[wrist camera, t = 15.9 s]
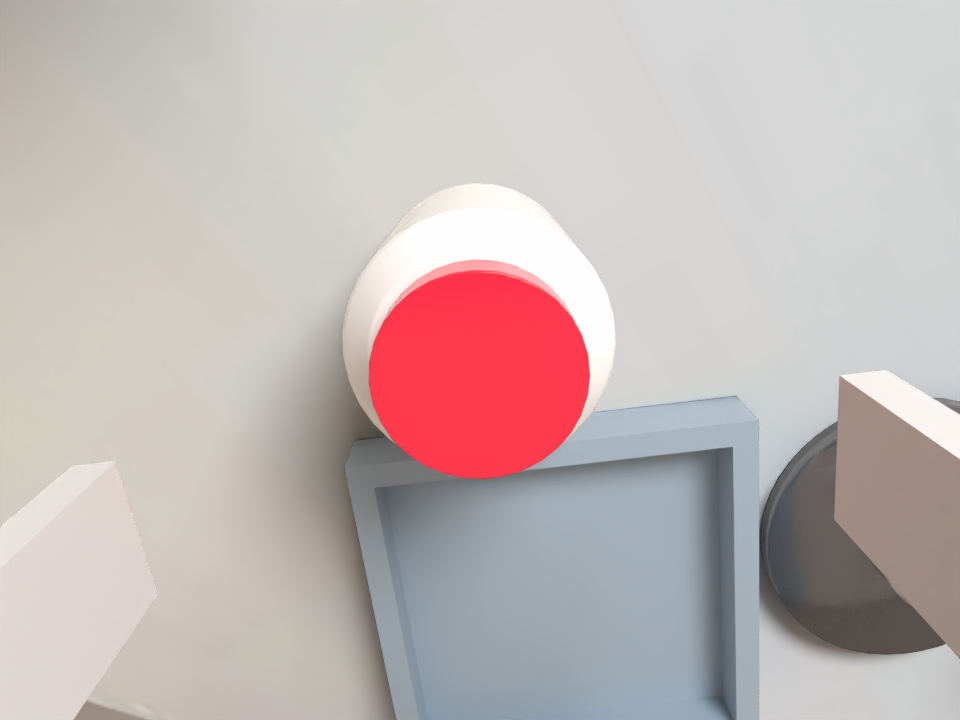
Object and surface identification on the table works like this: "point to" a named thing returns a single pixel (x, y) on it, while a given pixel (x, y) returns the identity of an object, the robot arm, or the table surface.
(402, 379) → the pill bottle
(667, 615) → the tray
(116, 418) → the table surface
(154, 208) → the table surface
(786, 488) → the crank base
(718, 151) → the table surface
